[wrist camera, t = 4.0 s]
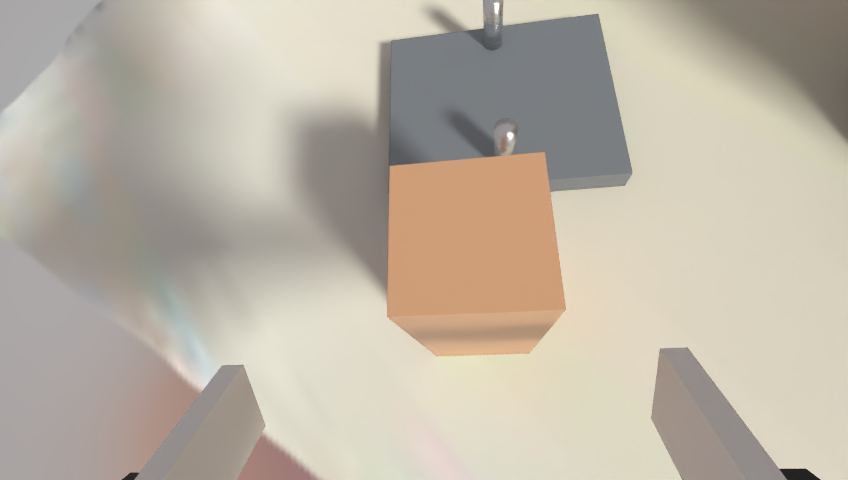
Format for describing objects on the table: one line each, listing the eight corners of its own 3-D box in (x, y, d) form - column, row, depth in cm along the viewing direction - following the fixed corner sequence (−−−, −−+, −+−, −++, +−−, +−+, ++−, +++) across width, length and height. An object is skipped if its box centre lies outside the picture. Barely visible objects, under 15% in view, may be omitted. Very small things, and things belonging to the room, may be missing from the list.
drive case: (520, 264, 24) (544, 151, 13) (529, 353, 23) (565, 309, 12) (434, 269, 25) (389, 165, 14) (436, 356, 23) (386, 317, 12)
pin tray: (593, 31, 29) (612, -37, 25) (624, 185, 25) (654, 137, 21) (395, 56, 31) (379, -3, 27) (394, 203, 27) (373, 163, 22)
